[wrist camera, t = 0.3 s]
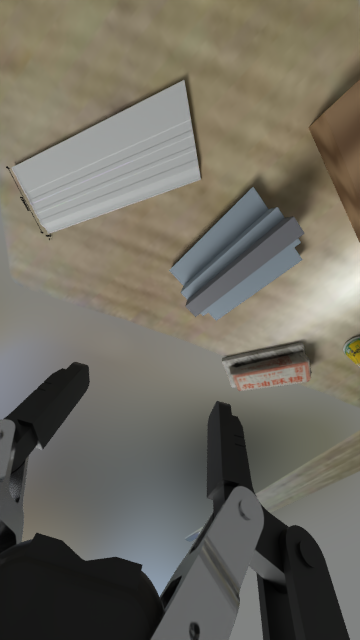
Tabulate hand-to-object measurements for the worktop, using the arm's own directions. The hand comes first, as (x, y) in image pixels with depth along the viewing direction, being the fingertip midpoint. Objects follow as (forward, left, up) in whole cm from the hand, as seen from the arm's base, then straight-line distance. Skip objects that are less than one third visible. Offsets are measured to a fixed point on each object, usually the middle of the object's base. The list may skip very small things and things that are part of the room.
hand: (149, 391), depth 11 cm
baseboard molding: (-14, -17, -29) cm, 36 cm away
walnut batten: (-17, +22, -29) cm, 40 cm away
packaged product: (+18, +21, -29) cm, 40 cm away
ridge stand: (-4, +7, -28) cm, 29 cm away
